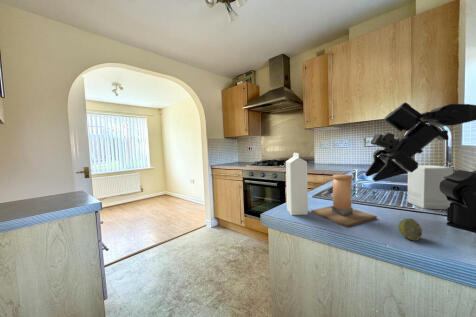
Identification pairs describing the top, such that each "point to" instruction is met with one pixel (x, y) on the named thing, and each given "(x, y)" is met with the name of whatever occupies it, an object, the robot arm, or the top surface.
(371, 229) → the top surface
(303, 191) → the milk
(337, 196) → the container with domed lid
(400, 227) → the lime
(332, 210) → the thin square board
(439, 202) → the supplement box
